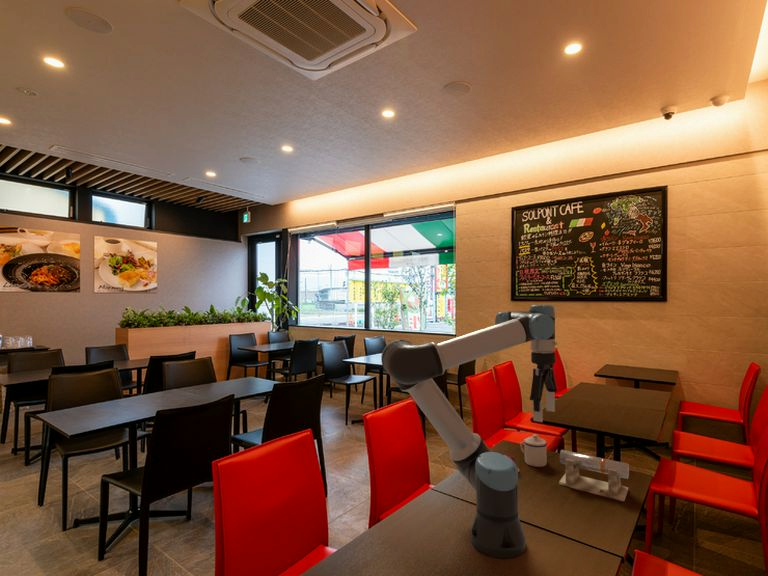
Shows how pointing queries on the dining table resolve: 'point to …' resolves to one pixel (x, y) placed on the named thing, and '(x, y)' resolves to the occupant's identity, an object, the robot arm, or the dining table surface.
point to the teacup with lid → (535, 451)
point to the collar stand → (594, 482)
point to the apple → (512, 459)
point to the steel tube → (595, 463)
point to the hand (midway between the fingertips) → (544, 416)
